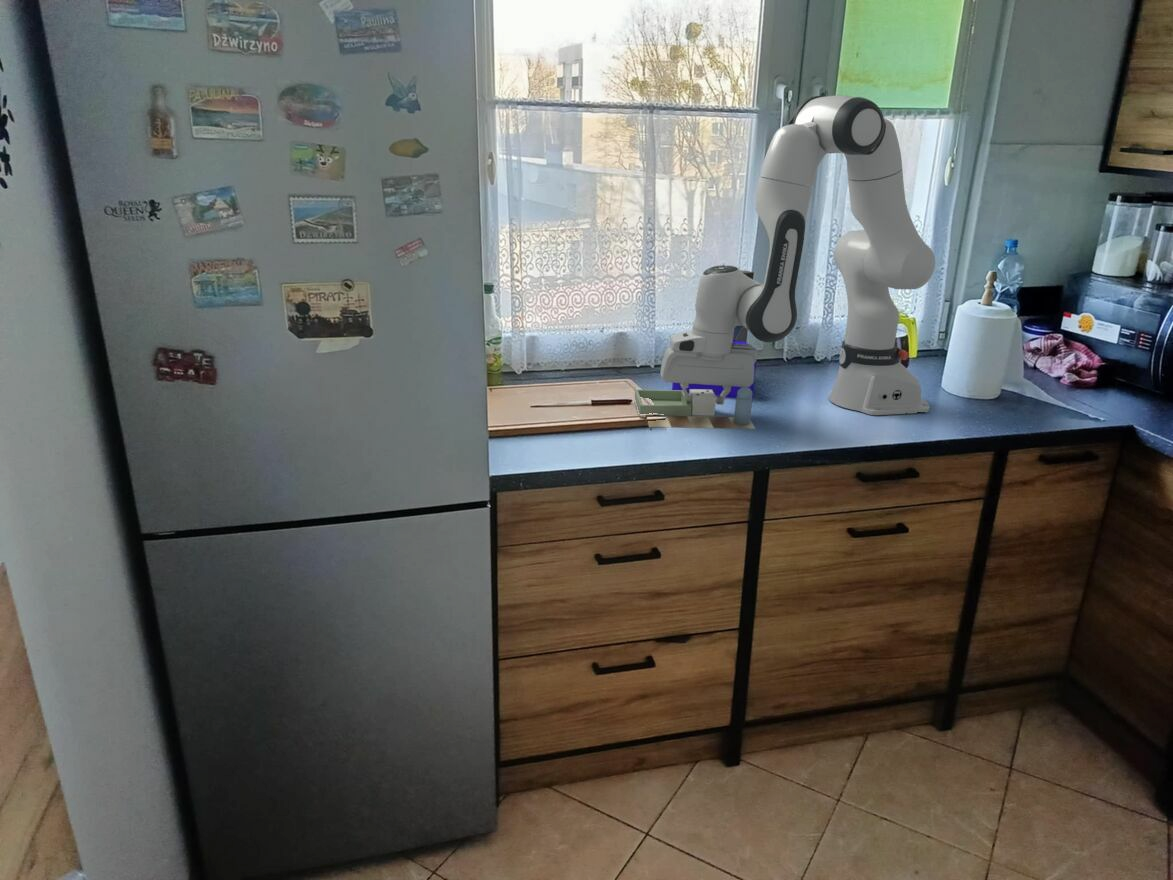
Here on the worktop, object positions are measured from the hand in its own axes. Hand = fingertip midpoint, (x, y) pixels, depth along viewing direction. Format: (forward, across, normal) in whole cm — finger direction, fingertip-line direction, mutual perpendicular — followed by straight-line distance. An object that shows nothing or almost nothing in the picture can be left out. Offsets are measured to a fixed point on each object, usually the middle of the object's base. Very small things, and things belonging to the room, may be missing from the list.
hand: (703, 402), depth 193 cm
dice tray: (+3, +9, -3) cm, 10 cm away
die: (+3, 0, 0) cm, 3 cm away
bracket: (+3, -4, -16) cm, 16 cm away
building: (+2, -12, -26) cm, 29 cm away
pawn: (+2, -7, +7) cm, 10 cm away
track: (+3, +2, +7) cm, 7 cm away
